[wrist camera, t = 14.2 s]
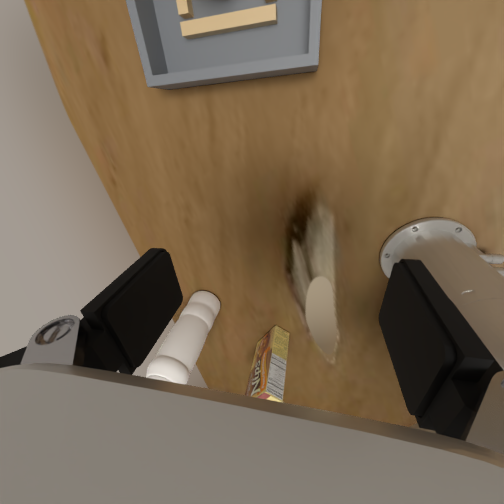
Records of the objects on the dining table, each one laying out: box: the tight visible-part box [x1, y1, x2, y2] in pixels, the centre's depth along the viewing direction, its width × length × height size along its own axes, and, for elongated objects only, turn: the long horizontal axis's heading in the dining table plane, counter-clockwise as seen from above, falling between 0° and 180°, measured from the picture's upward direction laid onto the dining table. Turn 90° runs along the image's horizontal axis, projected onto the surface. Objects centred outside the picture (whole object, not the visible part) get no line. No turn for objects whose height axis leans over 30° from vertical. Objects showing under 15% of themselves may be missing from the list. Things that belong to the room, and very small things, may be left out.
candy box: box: [245, 325, 289, 402], centre depth 49 cm, size 9×4×15 cm, turn 152°
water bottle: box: [146, 291, 220, 385], centre depth 43 cm, size 7×7×25 cm
